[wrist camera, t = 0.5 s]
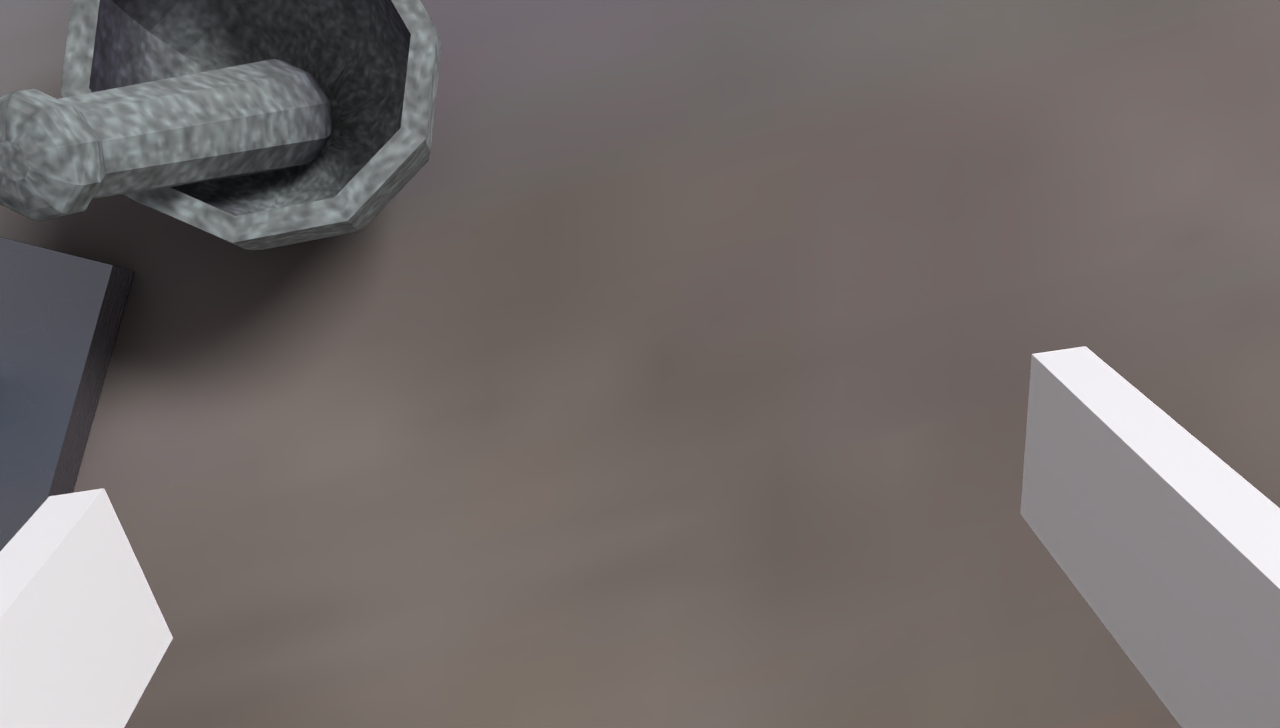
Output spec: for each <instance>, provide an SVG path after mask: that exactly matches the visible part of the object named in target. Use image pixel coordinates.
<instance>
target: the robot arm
mask: <svg viewBox="0 0 1280 728" xmlns="http://www.w3.org/2000/svg"><path fill="white" fill-rule="evenodd" d="M1021 515H1022V517H1023V518H1024V519H1025V521H1026V522H1027V523H1028V525H1029V526H1030V527H1031V529H1032V530H1033V531H1034V533H1035V534H1036V535H1037V537H1038V538H1039V539H1040V541H1041V542H1042V543H1043V544H1044V546H1045V547H1046V548H1047V550H1048V551H1049V552H1050V554H1051V555H1052V556H1053V558H1054V559H1055V560H1056V562H1057V563H1058V564H1059V566H1060V567H1061V568H1062V570H1063V571H1064V572H1065V574H1066V575H1067V576H1068V578H1069V579H1070V580H1071V582H1072V583H1073V584H1074V586H1075V587H1076V588H1077V589H1078V591H1079V592H1080V593H1081V595H1082V596H1083V597H1084V599H1085V600H1086V601H1087V603H1088V604H1089V605H1090V607H1091V608H1092V609H1093V611H1094V612H1095V613H1096V615H1097V616H1098V617H1099V619H1100V620H1101V621H1102V623H1103V624H1104V625H1105V627H1106V628H1107V629H1108V631H1109V632H1110V633H1111V634H1112V636H1113V637H1114V638H1115V640H1116V641H1117V642H1118V644H1119V645H1120V646H1121V648H1122V649H1123V650H1124V652H1125V653H1126V654H1127V656H1128V657H1129V658H1130V660H1131V661H1132V662H1133V664H1134V665H1135V666H1136V668H1137V669H1138V670H1139V672H1140V673H1141V674H1142V676H1143V677H1144V678H1145V679H1146V681H1147V682H1148V683H1149V685H1150V686H1151V687H1152V689H1153V690H1154V691H1155V693H1156V694H1157V695H1158V697H1159V698H1160V699H1161V701H1162V702H1163V703H1164V705H1165V706H1166V707H1167V709H1168V710H1169V711H1170V713H1171V714H1172V715H1173V717H1174V718H1175V719H1176V721H1177V722H1178V723H1179V725H1180V726H1181V727H1182V728H1280V508H1279V507H1277V506H1276V505H1275V504H1274V503H1273V502H1271V501H1270V500H1269V499H1268V498H1267V497H1265V496H1264V495H1263V494H1262V493H1261V492H1259V491H1258V490H1257V489H1256V488H1255V487H1253V486H1252V485H1251V484H1250V483H1249V482H1247V481H1246V480H1245V479H1244V478H1243V477H1241V476H1240V475H1239V474H1238V473H1237V472H1235V471H1234V470H1233V469H1232V468H1231V467H1229V466H1228V465H1227V464H1226V463H1225V462H1223V461H1222V460H1221V459H1220V458H1219V457H1217V456H1216V455H1215V454H1214V453H1213V452H1211V451H1210V450H1209V449H1208V448H1207V447H1205V446H1204V445H1203V444H1202V443H1201V442H1199V441H1198V440H1197V439H1196V438H1195V437H1193V436H1192V435H1191V434H1190V433H1189V432H1187V431H1186V430H1185V429H1184V428H1183V427H1181V426H1180V425H1179V424H1178V423H1177V422H1175V421H1174V420H1173V419H1172V418H1171V417H1169V416H1168V415H1167V414H1166V413H1165V412H1164V411H1162V410H1161V409H1160V408H1159V407H1158V406H1156V405H1155V404H1154V403H1153V402H1152V401H1150V400H1149V399H1148V398H1147V397H1146V396H1144V395H1143V394H1142V393H1141V392H1140V391H1138V390H1137V389H1136V388H1135V387H1134V386H1132V385H1131V384H1130V383H1129V382H1128V381H1126V380H1125V379H1124V378H1123V377H1122V376H1120V375H1119V374H1118V373H1117V372H1116V371H1114V370H1113V369H1112V368H1111V367H1110V366H1108V365H1107V364H1106V363H1105V362H1104V361H1102V360H1101V359H1100V358H1099V357H1098V356H1096V355H1095V354H1094V353H1093V352H1092V351H1090V350H1089V349H1088V348H1087V347H1086V346H1084V347H1078V348H1071V349H1064V350H1057V351H1050V352H1043V353H1036V354H1032V359H1031V373H1030V387H1029V401H1028V415H1027V429H1026V443H1025V458H1024V472H1023V486H1022V500H1021ZM172 639H173V637H172V635H171V633H170V631H169V629H168V626H167V624H166V622H165V620H164V618H163V616H162V613H161V611H160V609H159V607H158V605H157V602H156V600H155V598H154V596H153V594H152V592H151V589H150V587H149V585H148V583H147V581H146V579H145V576H144V574H143V572H142V570H141V568H140V565H139V563H138V561H137V559H136V557H135V555H134V552H133V550H132V548H131V546H130V544H129V541H128V539H127V537H126V535H125V533H124V531H123V528H122V526H121V524H120V522H119V520H118V518H117V515H116V513H115V511H114V509H113V507H112V504H111V502H110V500H109V498H108V496H107V494H106V491H105V489H104V488H103V489H96V490H89V491H82V492H76V493H69V494H62V495H55V496H49V497H48V498H47V500H46V501H45V502H44V503H43V504H42V505H41V506H40V507H39V509H38V510H37V511H36V512H35V513H34V514H33V515H32V517H31V518H30V519H29V520H28V521H27V522H26V523H25V524H24V526H23V527H22V528H21V529H20V530H19V531H18V532H17V533H16V535H15V536H14V537H13V538H12V539H11V540H10V541H9V542H8V544H7V545H6V546H5V547H4V548H3V549H2V550H1V551H0V728H124V727H125V725H126V723H127V721H128V720H129V718H130V716H131V714H132V712H133V710H134V708H135V707H136V705H137V703H138V701H139V699H140V697H141V696H142V694H143V692H144V690H145V688H146V686H147V685H148V683H149V681H150V679H151V677H152V675H153V674H154V672H155V670H156V668H157V666H158V664H159V663H160V661H161V659H162V657H163V655H164V653H165V651H166V650H167V648H168V646H169V644H170V642H171V640H172Z"/></svg>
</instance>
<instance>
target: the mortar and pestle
mask: <svg viewBox="0 0 1280 728" xmlns="http://www.w3.org/2000/svg"><path fill="white" fill-rule="evenodd" d="M440 57H441V44H440V40H439V36H438V32H437V29H436V27H435V25H434V24H433V22H432V20H431V19H430V17H429V15H428V13H427V12H426V10H425V8H424V7H423V5H422V3H421V1H420V0H72V3H71V11H70V19H69V27H68V35H67V43H66V51H65V59H64V68H63V76H62V84H61V92H60V93H61V94H62V96H63V98H60V99H55V98H53V97H51V96H49V95H47V94H45V93H43V92H41V91H39V90H37V89H29V90H22V91H15V92H12V93H9V94H5V95H2V96H0V204H1V205H3V206H5V207H7V208H9V209H11V210H13V211H15V212H17V213H19V214H21V215H24V216H26V217H28V218H30V219H32V220H35V221H38V222H39V221H43V220H48V219H53V218H57V217H61V216H65V215H69V214H73V213H78V212H82V211H86V209H87V207H88V205H89V204H90V202H91V200H92V199H97V198H103V197H110V196H116V195H124V196H126V197H128V198H130V199H132V200H135V201H137V202H139V203H141V204H143V205H145V206H148V207H150V208H152V209H154V210H157V211H159V212H161V213H164V214H166V215H168V216H170V217H173V218H175V219H177V220H180V221H182V222H184V223H186V224H189V225H191V226H193V227H196V228H198V229H200V230H202V231H205V232H207V233H209V234H212V235H214V236H216V237H218V238H221V239H223V240H225V241H228V242H230V243H232V244H234V245H237V246H239V247H241V248H244V249H246V250H264V249H270V248H275V247H280V246H285V245H291V244H296V243H301V242H306V241H311V240H317V239H322V238H327V237H332V236H338V235H343V234H348V233H353V232H358V231H362V230H363V229H364V228H365V227H366V226H367V225H368V224H369V223H370V222H371V221H372V220H373V219H374V218H375V217H376V216H377V215H378V213H379V212H380V211H381V210H382V209H383V208H384V207H385V206H386V205H387V204H388V203H389V202H390V201H391V200H392V199H393V198H394V197H395V195H396V194H397V193H398V192H399V191H400V190H401V189H402V188H403V187H404V186H405V185H406V184H407V183H408V182H409V181H410V180H411V179H412V177H413V176H414V175H415V174H416V173H417V172H418V171H419V170H420V169H421V168H422V167H423V166H424V165H425V164H426V163H427V162H428V159H429V155H430V149H431V140H432V130H433V121H434V112H435V103H436V93H437V84H438V75H439V66H440Z"/></svg>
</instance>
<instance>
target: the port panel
mask: <svg viewBox="0 0 1280 728" xmlns="http://www.w3.org/2000/svg"><path fill="white" fill-rule="evenodd" d="M133 274H134V271H130V270H127V269H123V268H120V267H117V266H113V265H109V264H105V263H101V262H97V261H93V260H89V259H85V258H81V257H77V256H73V255H69V254H65V253H61V252H57V251H53V250H49V249H45V248H41V247H37V246H33V245H29V244H25V243H21V242H17V241H13V240H9V239H5V238H1V237H0V551H1V550H2V549H3V548H4V547H5V546H6V545H7V544H8V542H9V541H10V540H11V539H12V538H13V537H14V536H15V535H16V533H17V532H18V531H19V530H20V529H21V528H22V527H23V526H24V524H25V523H26V522H27V521H28V520H29V519H30V518H31V517H32V515H33V514H34V513H35V512H36V511H37V510H38V509H39V507H40V506H41V505H42V504H43V503H44V502H45V501H46V500H47V498H48V497H49V496H55V495H62V494H69V493H73V490H74V486H75V483H76V479H77V475H78V472H79V468H80V465H81V461H82V457H83V454H84V450H85V447H86V443H87V440H88V436H89V432H90V429H91V425H92V422H93V418H94V414H95V411H96V407H97V404H98V400H99V396H100V393H101V389H102V386H103V382H104V379H105V375H106V371H107V368H108V364H109V361H110V357H111V353H112V350H113V346H114V343H115V339H116V335H117V332H118V328H119V325H120V321H121V318H122V314H123V310H124V307H125V303H126V300H127V296H128V292H129V289H130V285H131V282H132V278H133Z"/></svg>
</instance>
